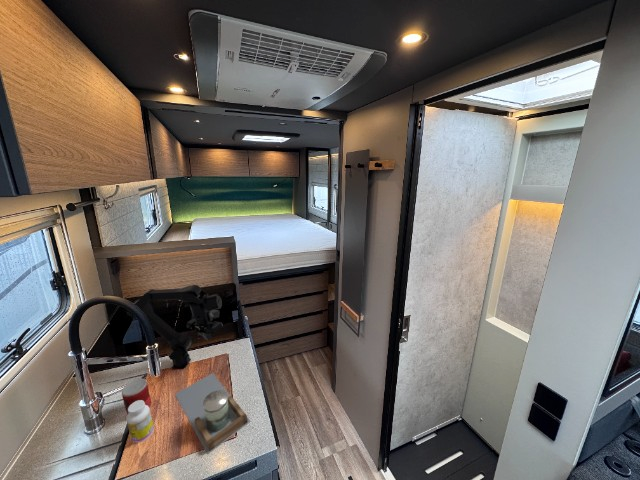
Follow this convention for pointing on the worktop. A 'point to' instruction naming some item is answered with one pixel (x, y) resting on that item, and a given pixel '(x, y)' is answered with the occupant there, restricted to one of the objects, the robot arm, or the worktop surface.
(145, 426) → the supplement bottle
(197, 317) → the robot arm
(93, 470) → the worktop surface
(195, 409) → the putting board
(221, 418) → the tea tin
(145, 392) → the canned food
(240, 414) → the walnut pocket
